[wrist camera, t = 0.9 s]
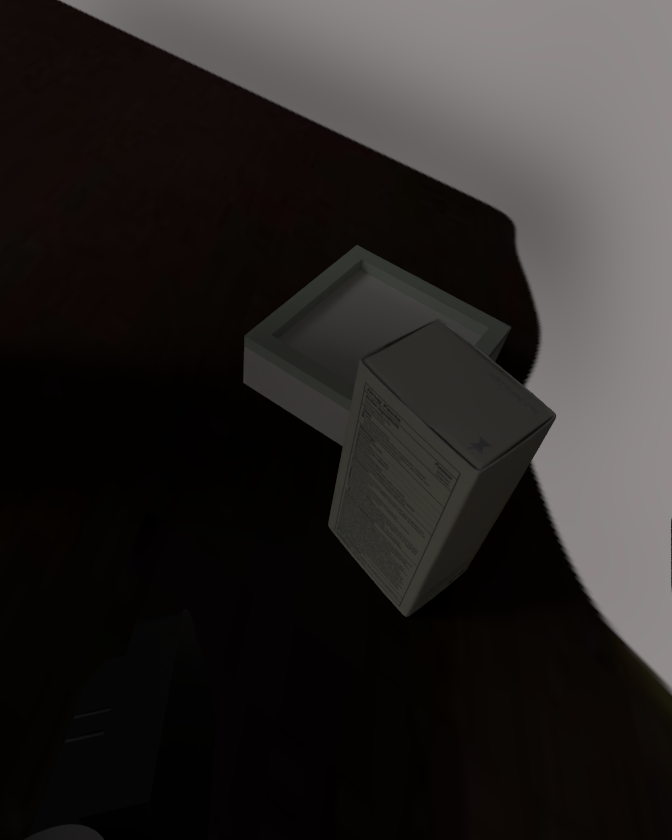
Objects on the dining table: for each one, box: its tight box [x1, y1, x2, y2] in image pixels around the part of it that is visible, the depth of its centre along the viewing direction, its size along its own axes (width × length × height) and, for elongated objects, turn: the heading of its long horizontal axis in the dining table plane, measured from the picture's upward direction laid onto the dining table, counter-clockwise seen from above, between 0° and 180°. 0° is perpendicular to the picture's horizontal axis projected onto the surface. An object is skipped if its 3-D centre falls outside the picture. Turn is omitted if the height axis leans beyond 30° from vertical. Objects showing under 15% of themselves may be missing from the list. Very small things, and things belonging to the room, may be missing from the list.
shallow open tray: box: [243, 245, 511, 446], centre depth 37 cm, size 11×11×4 cm
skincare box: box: [328, 319, 556, 617], centre depth 27 cm, size 6×4×12 cm
